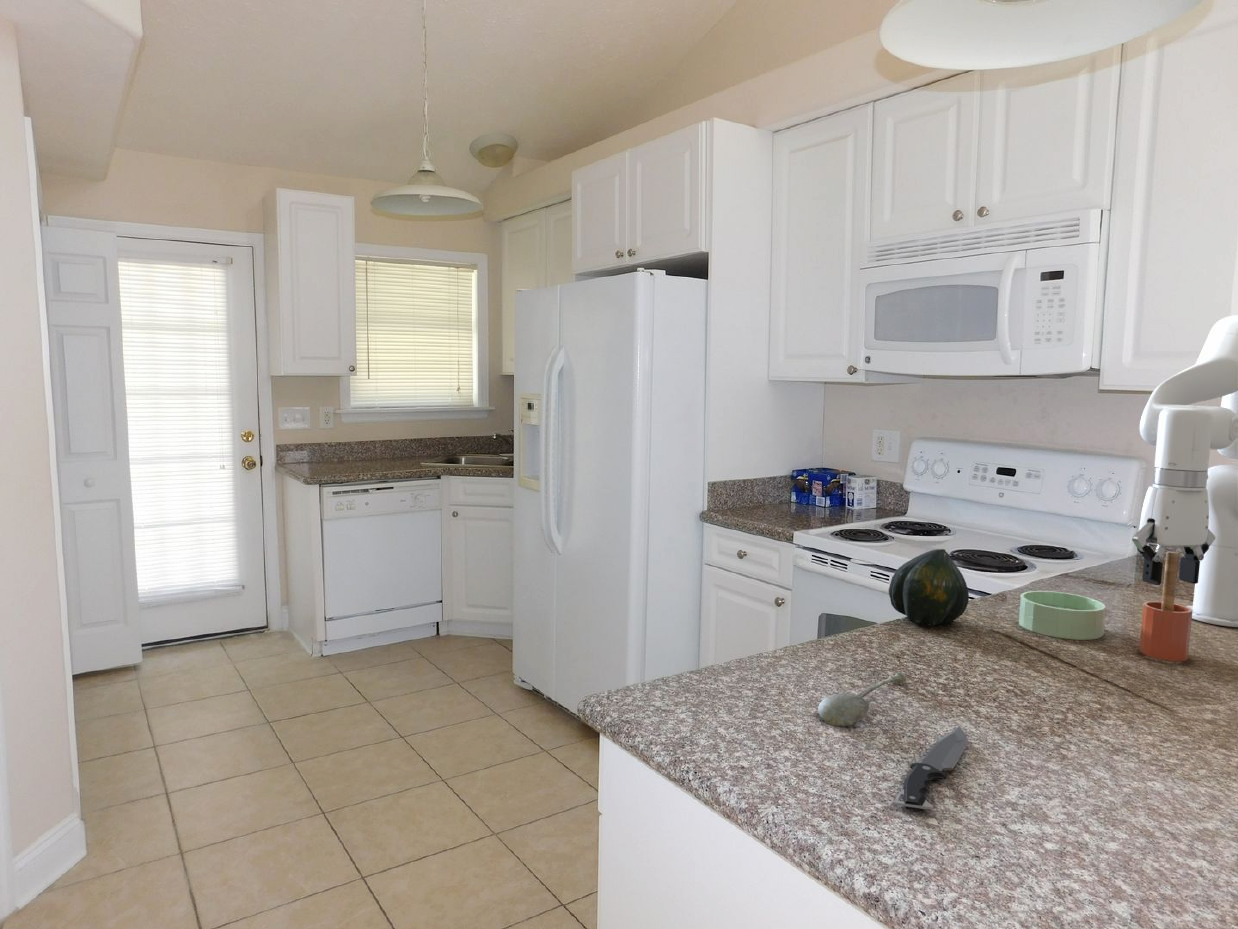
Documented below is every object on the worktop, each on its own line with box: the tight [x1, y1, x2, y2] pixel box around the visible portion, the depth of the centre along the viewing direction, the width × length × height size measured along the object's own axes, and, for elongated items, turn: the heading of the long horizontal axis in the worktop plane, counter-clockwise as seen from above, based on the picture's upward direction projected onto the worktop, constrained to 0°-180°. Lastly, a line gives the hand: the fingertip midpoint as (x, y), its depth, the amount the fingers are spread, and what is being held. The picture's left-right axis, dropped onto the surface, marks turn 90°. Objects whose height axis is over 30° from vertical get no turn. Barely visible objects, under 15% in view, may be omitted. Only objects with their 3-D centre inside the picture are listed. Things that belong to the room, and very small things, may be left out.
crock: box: [1138, 600, 1193, 662], centre depth 140 cm, size 7×7×9 cm
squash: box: [888, 548, 970, 626], centre depth 159 cm, size 14×15×15 cm
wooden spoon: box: [1161, 550, 1180, 612], centre depth 140 cm, size 3×2×18 cm, turn 12°
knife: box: [894, 725, 968, 811], centre depth 98 cm, size 26×1×5 cm
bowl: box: [1017, 590, 1107, 641], centre depth 154 cm, size 14×14×6 cm
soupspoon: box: [817, 671, 906, 727], centre depth 117 cm, size 22×3×7 cm
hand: (1169, 581), depth 139 cm, fingers open, 7 cm apart
